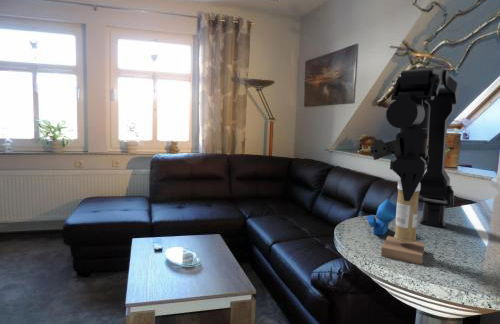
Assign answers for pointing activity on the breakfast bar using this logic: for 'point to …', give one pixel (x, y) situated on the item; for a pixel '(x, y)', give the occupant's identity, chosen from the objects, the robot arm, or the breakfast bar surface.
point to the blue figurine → (382, 217)
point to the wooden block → (403, 250)
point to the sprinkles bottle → (406, 215)
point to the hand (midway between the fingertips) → (407, 198)
